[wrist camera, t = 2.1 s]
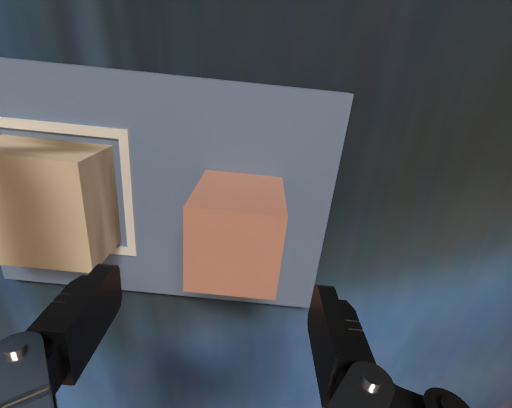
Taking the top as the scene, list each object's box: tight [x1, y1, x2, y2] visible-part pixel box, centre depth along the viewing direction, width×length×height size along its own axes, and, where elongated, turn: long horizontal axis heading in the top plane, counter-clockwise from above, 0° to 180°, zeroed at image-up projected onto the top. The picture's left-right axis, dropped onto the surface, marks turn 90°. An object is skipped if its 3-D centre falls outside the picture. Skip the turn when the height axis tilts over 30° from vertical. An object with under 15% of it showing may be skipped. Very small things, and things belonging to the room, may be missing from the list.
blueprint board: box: [0, 57, 354, 308], centre depth 22 cm, size 24×16×1 cm, turn 85°
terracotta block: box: [183, 170, 288, 300], centre depth 18 cm, size 5×5×6 cm
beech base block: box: [0, 134, 121, 273], centre depth 19 cm, size 7×7×4 cm
